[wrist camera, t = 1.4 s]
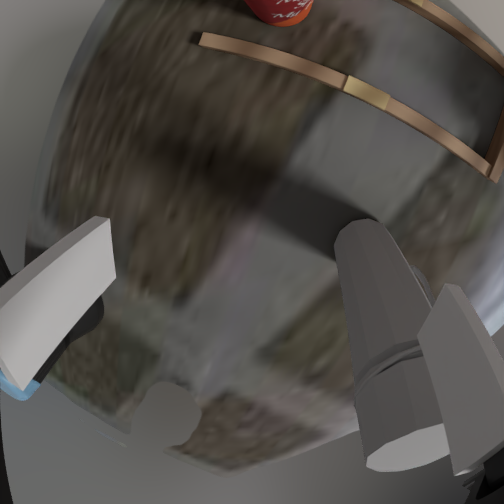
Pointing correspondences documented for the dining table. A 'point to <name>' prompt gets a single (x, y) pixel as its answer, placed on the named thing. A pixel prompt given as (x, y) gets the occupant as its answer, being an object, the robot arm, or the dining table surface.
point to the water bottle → (388, 350)
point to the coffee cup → (280, 11)
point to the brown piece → (500, 149)
